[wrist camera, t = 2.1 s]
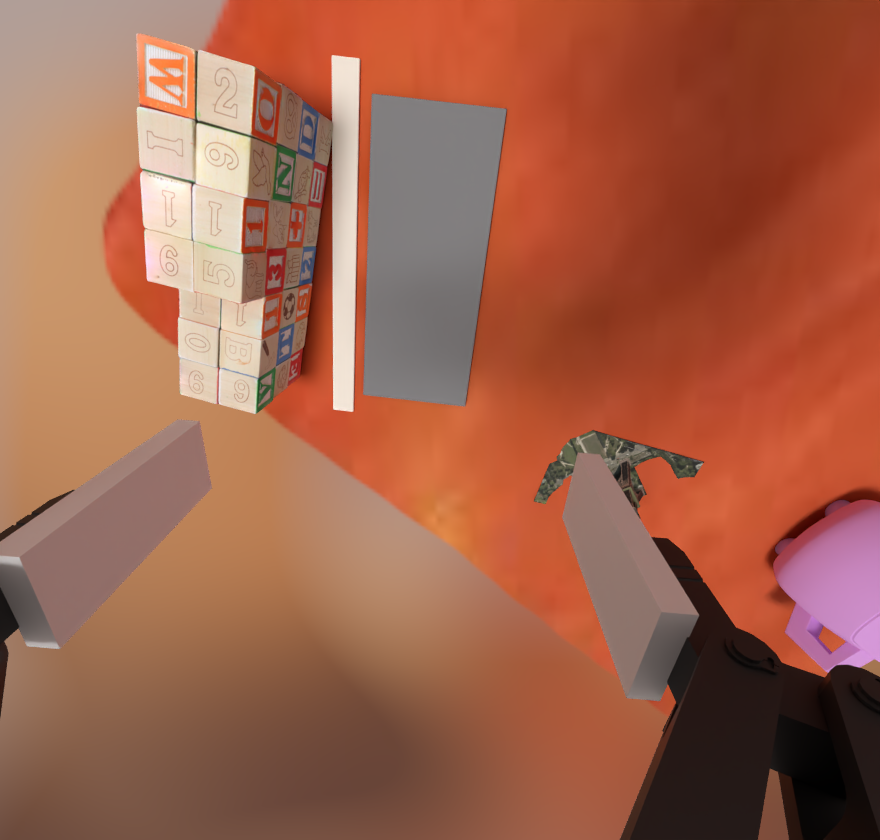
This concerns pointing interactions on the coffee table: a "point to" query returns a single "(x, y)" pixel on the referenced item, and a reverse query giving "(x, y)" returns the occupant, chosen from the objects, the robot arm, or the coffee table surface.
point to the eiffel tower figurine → (612, 464)
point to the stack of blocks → (230, 216)
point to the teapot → (835, 583)
